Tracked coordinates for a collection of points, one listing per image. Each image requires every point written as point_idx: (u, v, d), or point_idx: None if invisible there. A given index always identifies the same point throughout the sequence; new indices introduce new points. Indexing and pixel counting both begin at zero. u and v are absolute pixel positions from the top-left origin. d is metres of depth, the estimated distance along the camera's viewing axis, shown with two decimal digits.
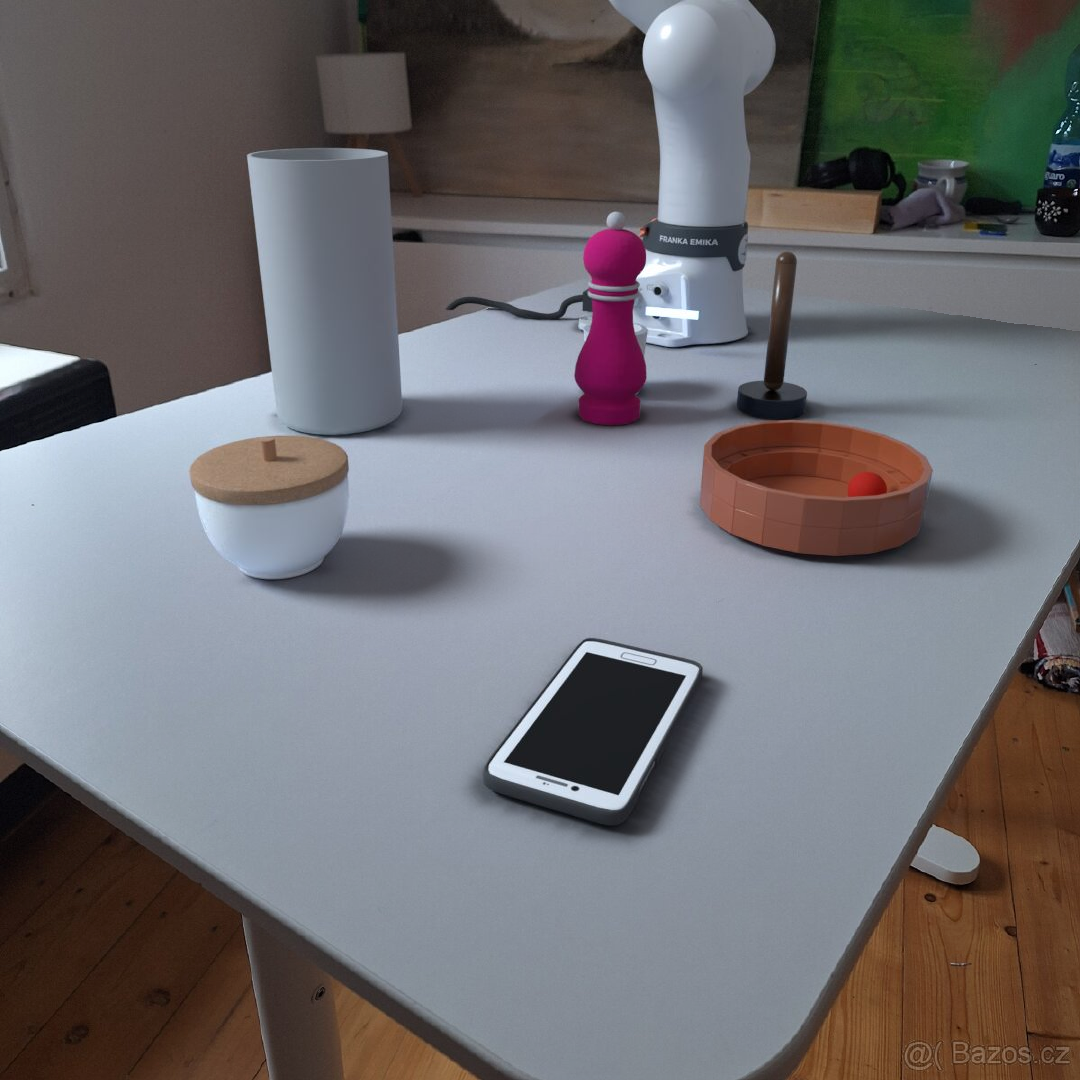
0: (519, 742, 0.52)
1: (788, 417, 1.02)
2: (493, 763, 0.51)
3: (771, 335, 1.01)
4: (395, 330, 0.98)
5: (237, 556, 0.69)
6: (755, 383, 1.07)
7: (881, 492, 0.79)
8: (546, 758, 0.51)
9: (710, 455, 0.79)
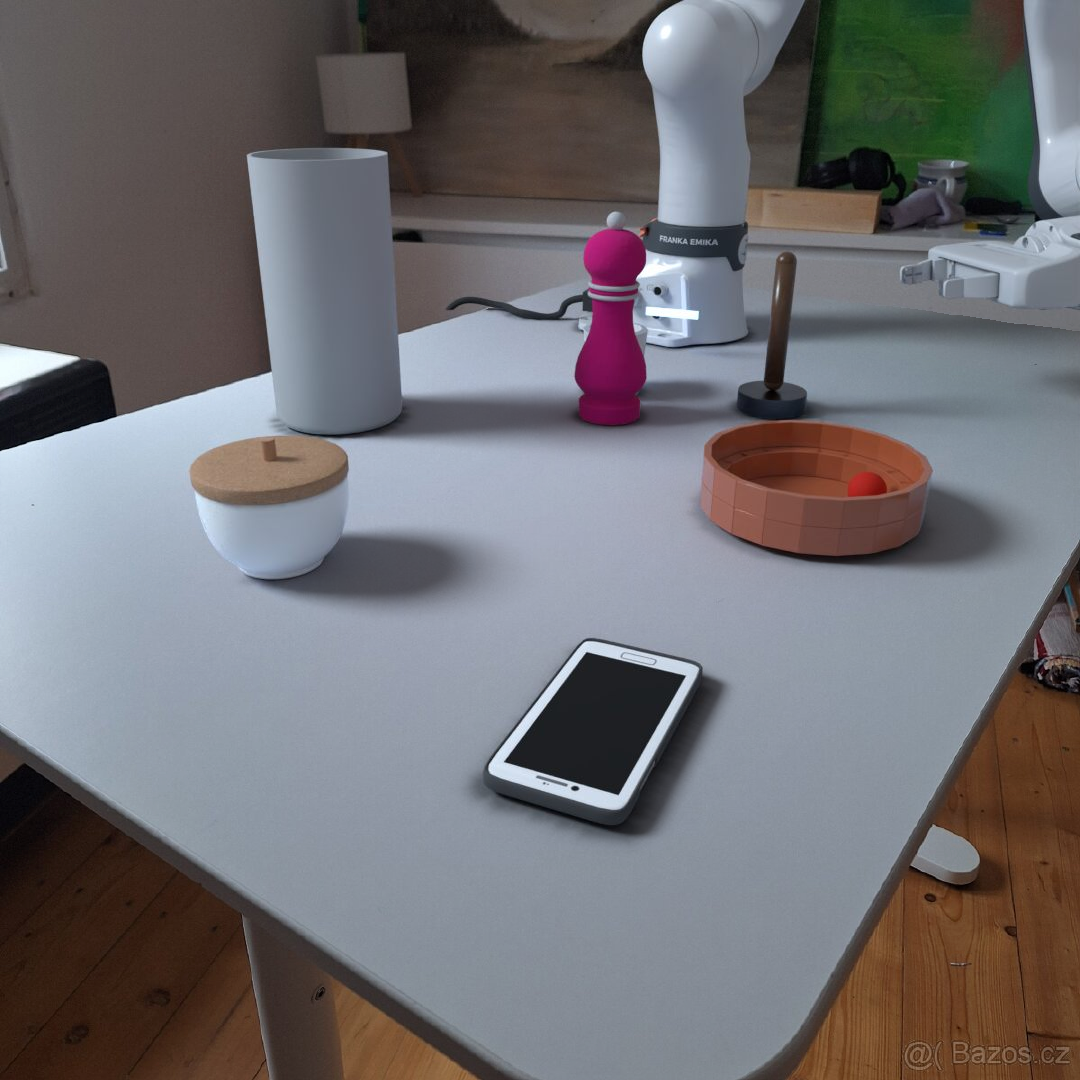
0: (519, 742, 0.52)
1: (788, 417, 1.02)
2: (493, 763, 0.51)
3: (771, 335, 1.01)
4: (395, 330, 0.98)
5: (237, 556, 0.69)
6: (755, 383, 1.07)
7: (881, 492, 0.79)
8: (546, 758, 0.51)
9: (710, 455, 0.79)
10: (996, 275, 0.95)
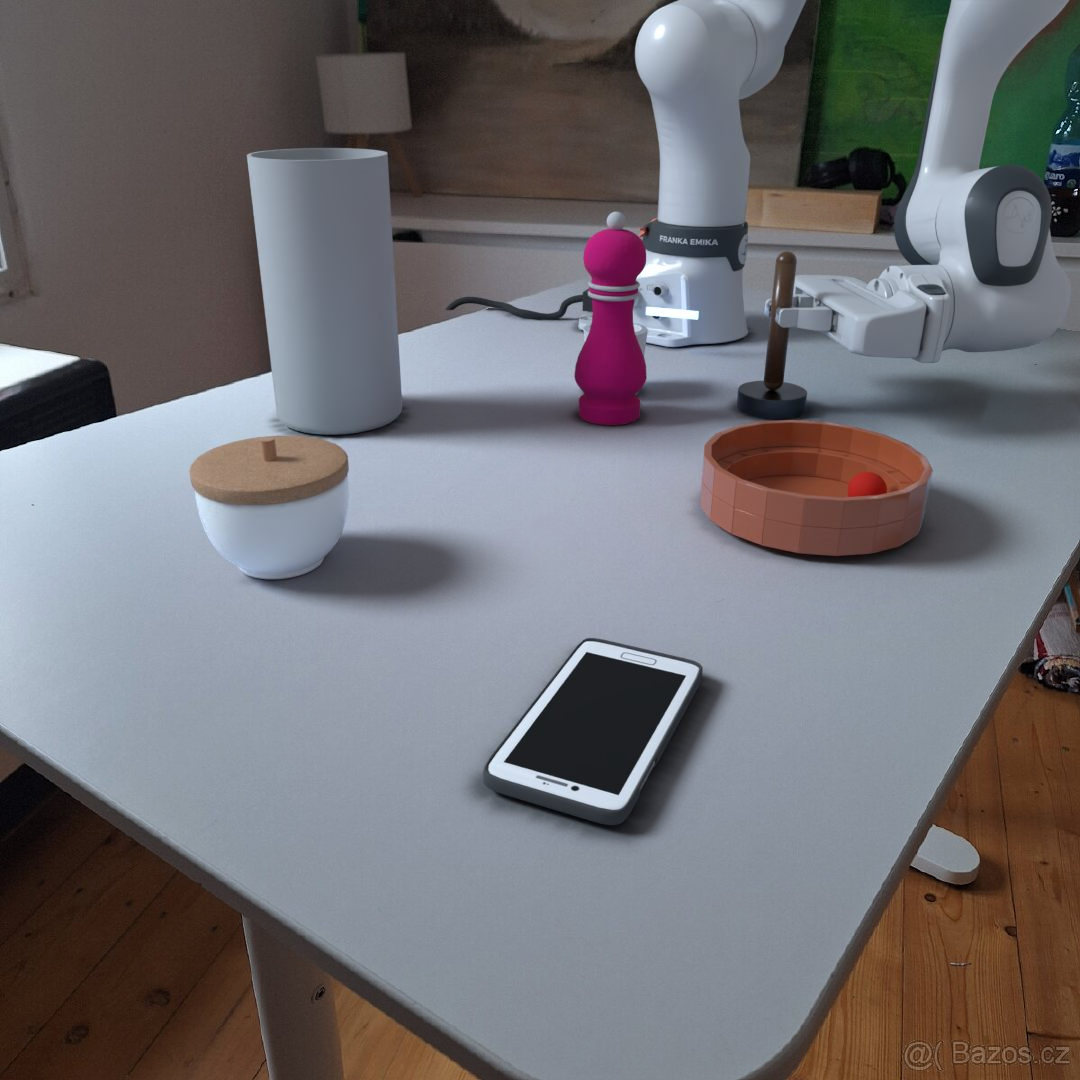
0: (519, 742, 0.52)
1: (788, 417, 1.02)
2: (493, 763, 0.51)
3: (771, 335, 1.01)
4: (395, 330, 0.98)
5: (237, 556, 0.69)
6: (755, 383, 1.07)
7: (881, 492, 0.79)
8: (546, 758, 0.51)
9: (710, 455, 0.79)
10: (828, 310, 0.98)
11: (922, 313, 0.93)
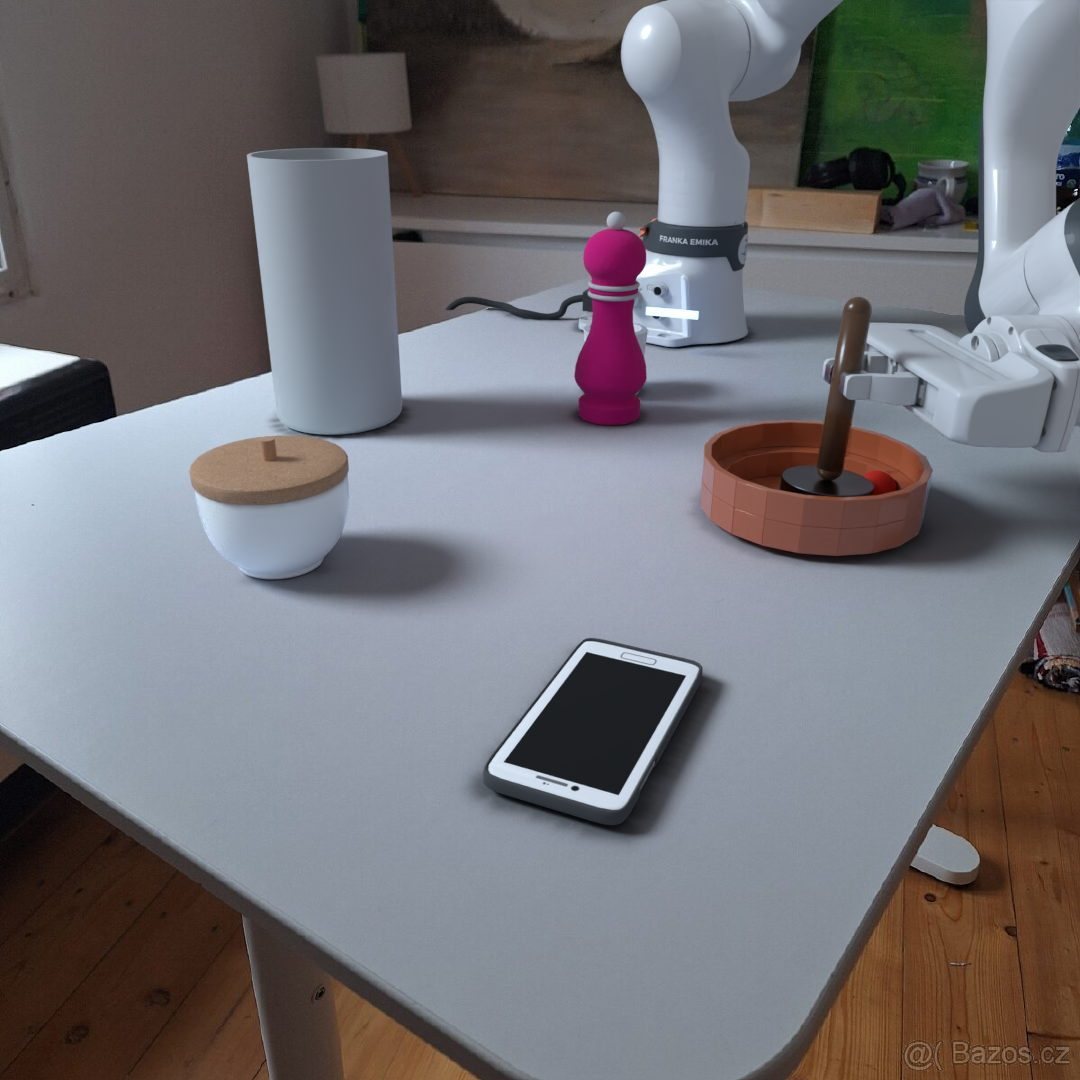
0: (519, 742, 0.52)
1: None
2: (493, 763, 0.51)
3: (831, 407, 0.75)
4: (395, 330, 0.98)
5: (237, 556, 0.69)
6: (803, 469, 0.80)
7: None
8: (546, 758, 0.51)
9: (710, 455, 0.79)
10: (913, 378, 0.72)
11: (1049, 387, 0.67)
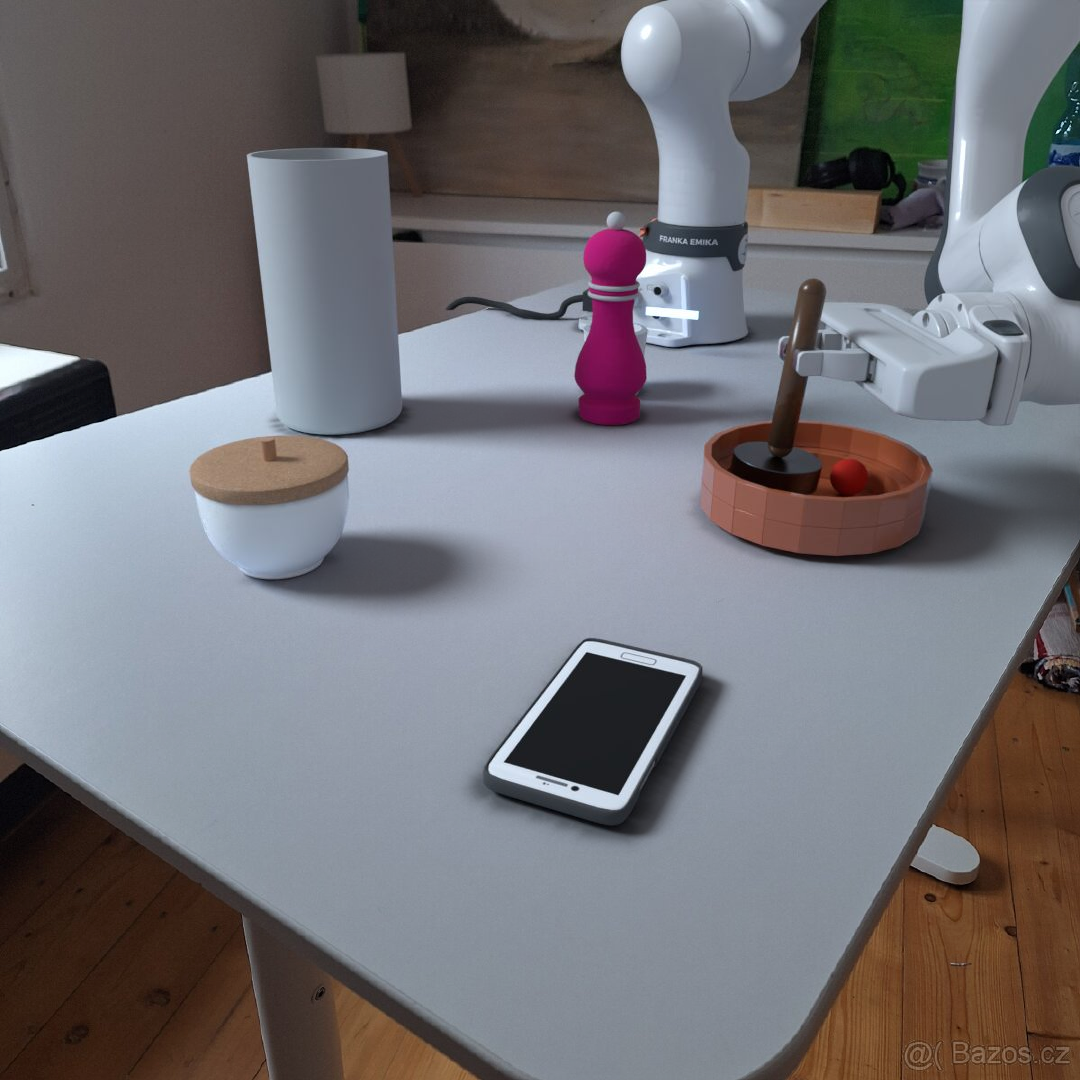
0: (519, 742, 0.52)
1: None
2: (493, 763, 0.51)
3: (783, 386, 0.77)
4: (395, 330, 0.98)
5: (237, 556, 0.69)
6: (756, 445, 0.82)
7: (843, 461, 0.82)
8: (546, 758, 0.51)
9: (710, 455, 0.79)
10: (864, 354, 0.73)
11: (993, 361, 0.69)
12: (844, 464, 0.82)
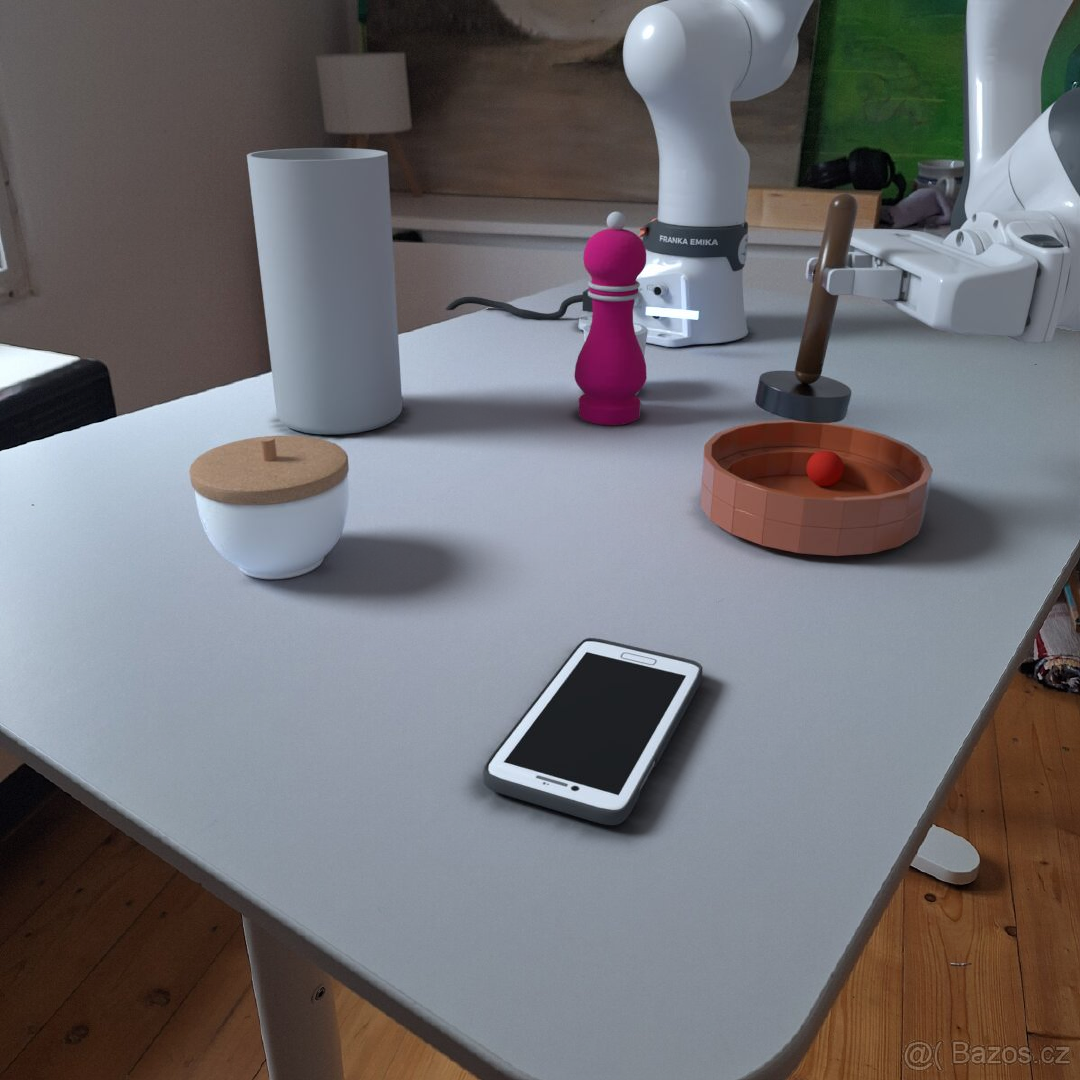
0: (519, 742, 0.52)
1: (824, 421, 0.76)
2: (493, 763, 0.51)
3: (812, 308, 0.75)
4: (395, 330, 0.98)
5: (237, 556, 0.69)
6: (782, 373, 0.80)
7: None
8: (546, 758, 0.51)
9: (710, 455, 0.79)
10: (897, 270, 0.71)
11: (1033, 272, 0.66)
12: None
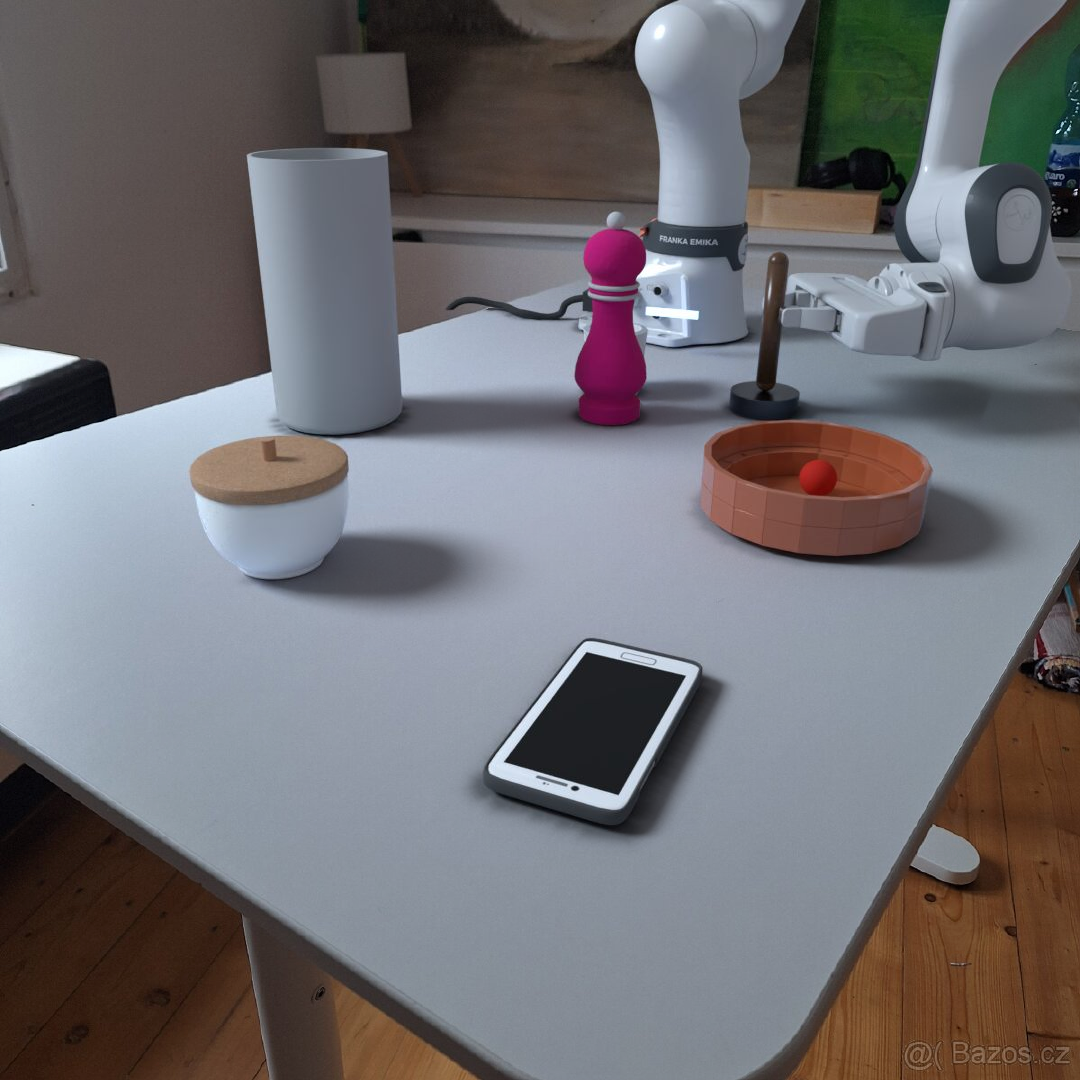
0: (519, 742, 0.52)
1: (779, 418, 1.02)
2: (493, 763, 0.51)
3: (763, 335, 1.01)
4: (395, 330, 0.98)
5: (237, 556, 0.69)
6: (748, 383, 1.06)
7: None
8: (546, 758, 0.51)
9: (710, 455, 0.79)
10: (832, 310, 0.97)
11: (922, 310, 0.93)
12: (800, 476, 0.83)
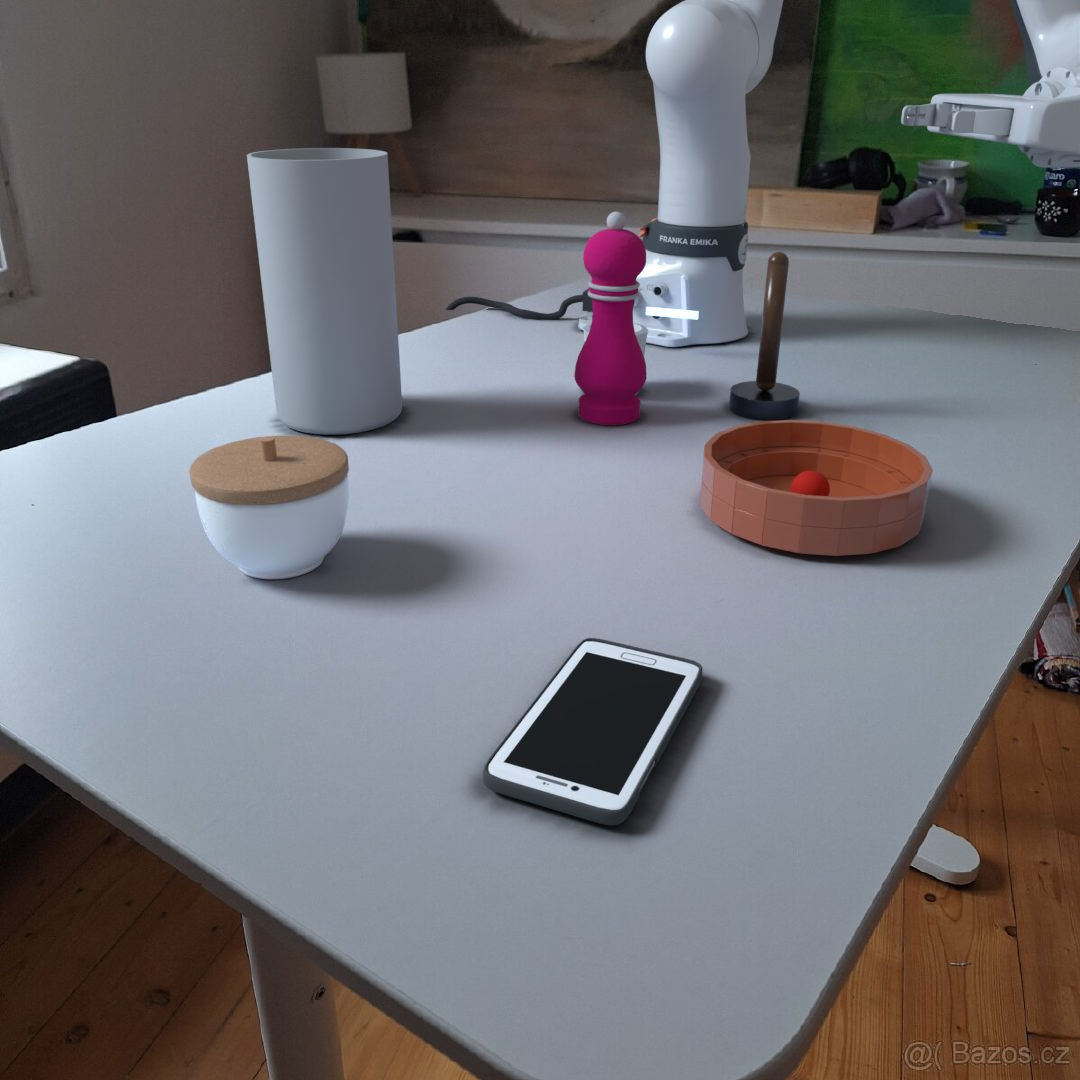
0: (519, 742, 0.52)
1: (779, 418, 1.02)
2: (493, 763, 0.51)
3: (763, 335, 1.01)
4: (395, 330, 0.98)
5: (237, 556, 0.69)
6: (748, 383, 1.06)
7: (792, 482, 0.81)
8: (546, 758, 0.51)
9: (710, 455, 0.79)
10: (1010, 110, 0.89)
11: None
12: None
